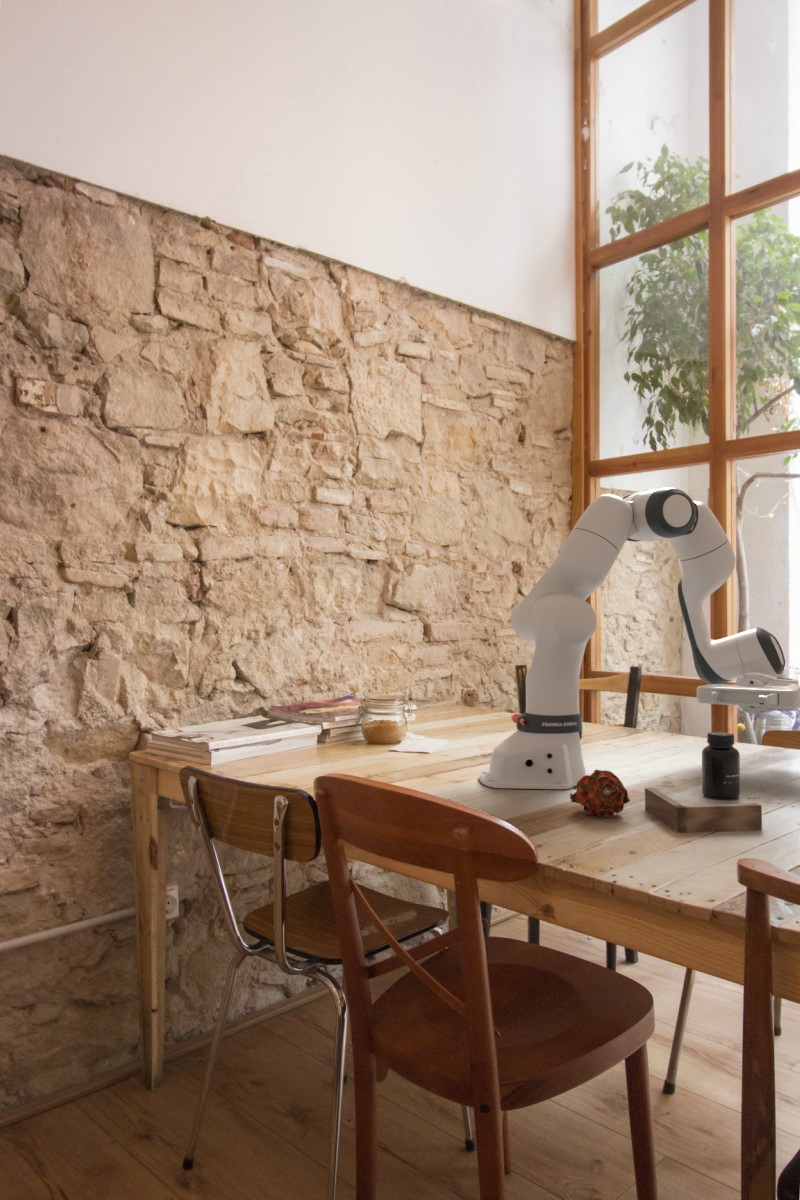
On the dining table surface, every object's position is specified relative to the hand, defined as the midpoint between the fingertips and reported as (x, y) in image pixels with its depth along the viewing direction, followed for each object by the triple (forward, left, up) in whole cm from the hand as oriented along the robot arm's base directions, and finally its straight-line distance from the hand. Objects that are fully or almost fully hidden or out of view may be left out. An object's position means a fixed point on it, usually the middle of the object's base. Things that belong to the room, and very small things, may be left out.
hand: (738, 699), depth 173 cm
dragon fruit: (-35, -20, -17) cm, 44 cm away
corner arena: (-19, -26, -17) cm, 37 cm away
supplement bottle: (-8, -9, -17) cm, 21 cm away
